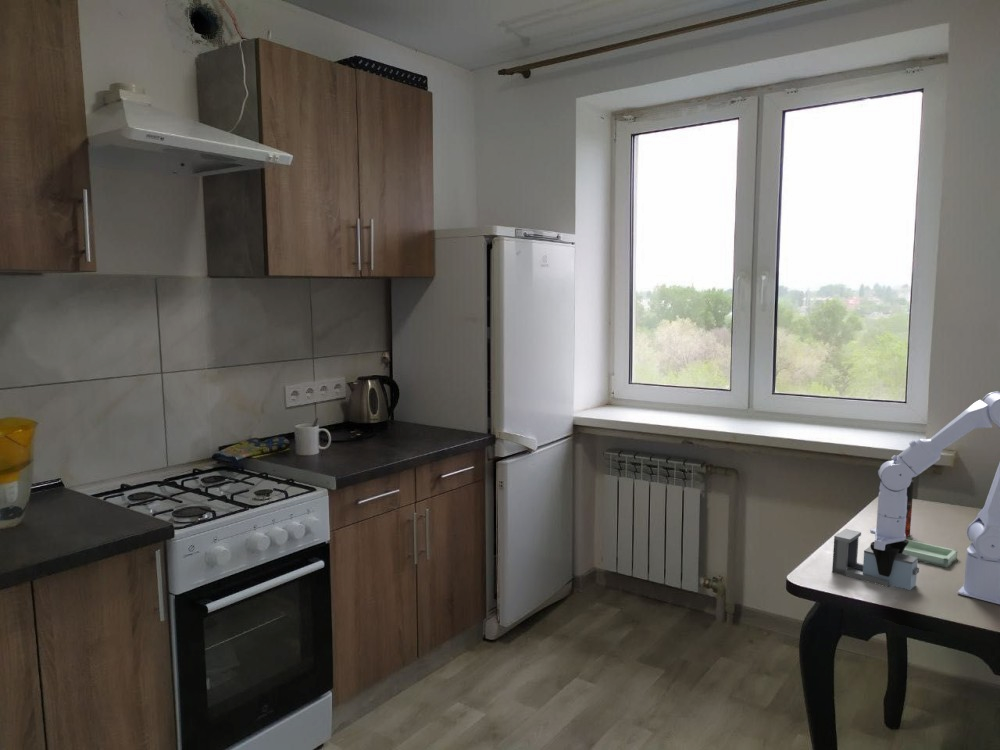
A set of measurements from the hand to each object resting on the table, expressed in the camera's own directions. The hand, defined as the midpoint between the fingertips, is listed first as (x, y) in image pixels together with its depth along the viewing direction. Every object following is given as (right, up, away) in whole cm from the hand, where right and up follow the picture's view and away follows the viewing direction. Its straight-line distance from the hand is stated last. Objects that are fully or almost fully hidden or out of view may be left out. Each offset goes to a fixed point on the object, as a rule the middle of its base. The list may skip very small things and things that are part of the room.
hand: (887, 572), depth 164 cm
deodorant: (+20, +2, +32) cm, 38 cm away
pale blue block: (0, -2, 0) cm, 2 cm away
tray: (+16, 0, +16) cm, 23 cm away
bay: (-3, -2, +4) cm, 5 cm away
